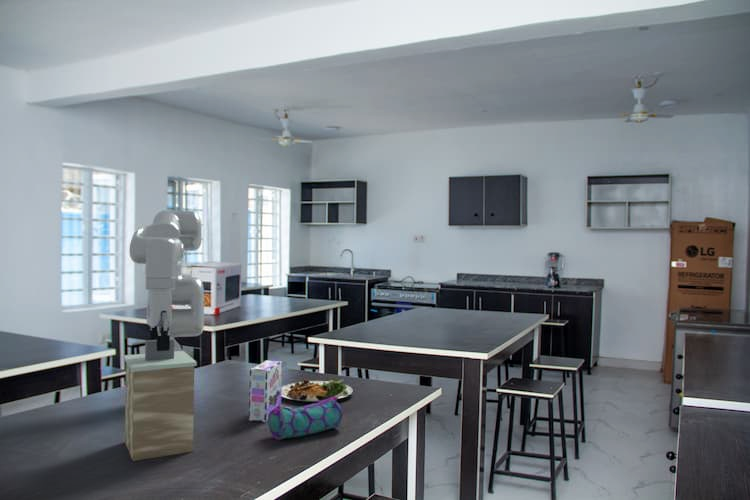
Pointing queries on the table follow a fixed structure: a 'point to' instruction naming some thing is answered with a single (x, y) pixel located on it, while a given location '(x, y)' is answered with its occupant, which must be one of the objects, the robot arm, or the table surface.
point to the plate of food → (316, 390)
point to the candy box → (264, 390)
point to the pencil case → (304, 419)
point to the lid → (158, 358)
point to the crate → (159, 412)
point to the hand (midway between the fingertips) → (159, 347)
